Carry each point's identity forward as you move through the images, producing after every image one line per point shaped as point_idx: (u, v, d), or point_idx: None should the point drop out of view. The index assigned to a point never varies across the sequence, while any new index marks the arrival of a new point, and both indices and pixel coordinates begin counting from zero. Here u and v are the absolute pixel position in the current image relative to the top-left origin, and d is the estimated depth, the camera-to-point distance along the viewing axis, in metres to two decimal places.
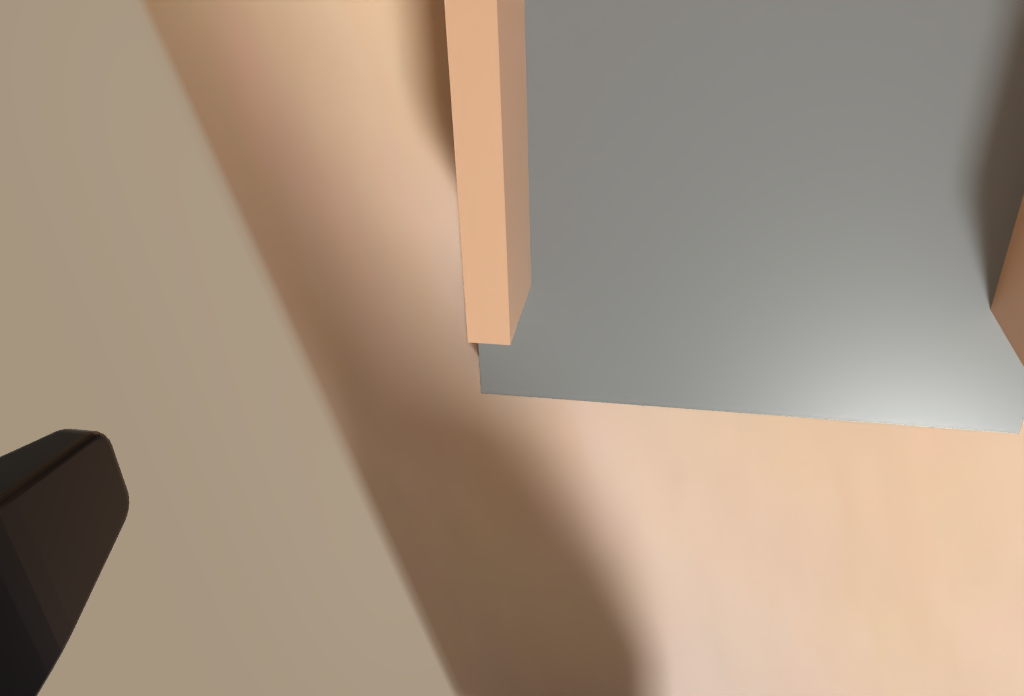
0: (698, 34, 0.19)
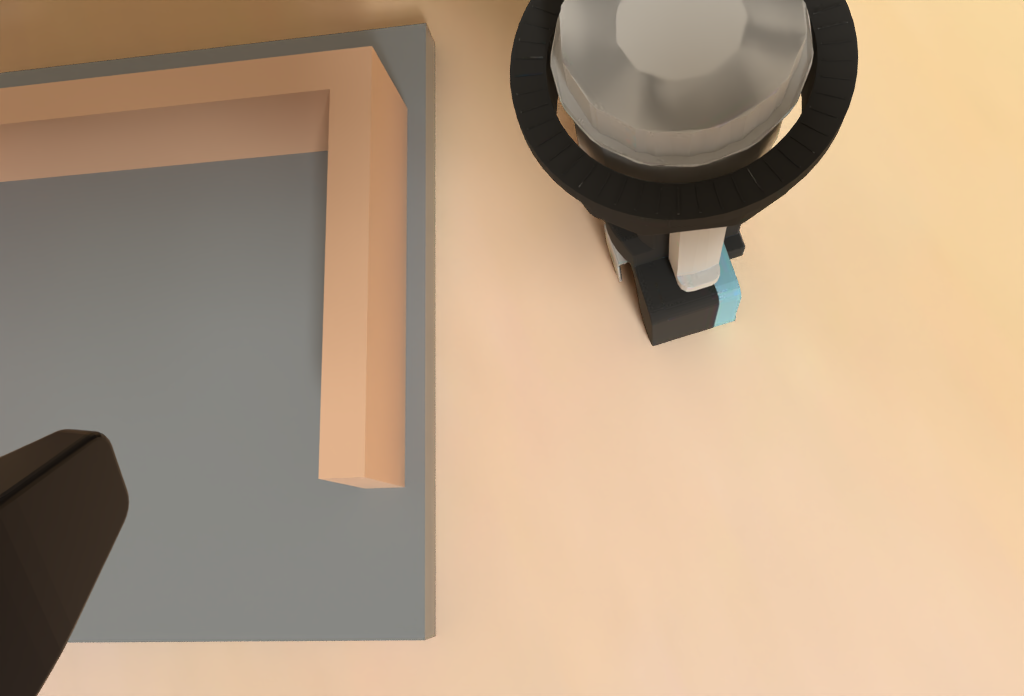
0: (111, 265, 0.24)
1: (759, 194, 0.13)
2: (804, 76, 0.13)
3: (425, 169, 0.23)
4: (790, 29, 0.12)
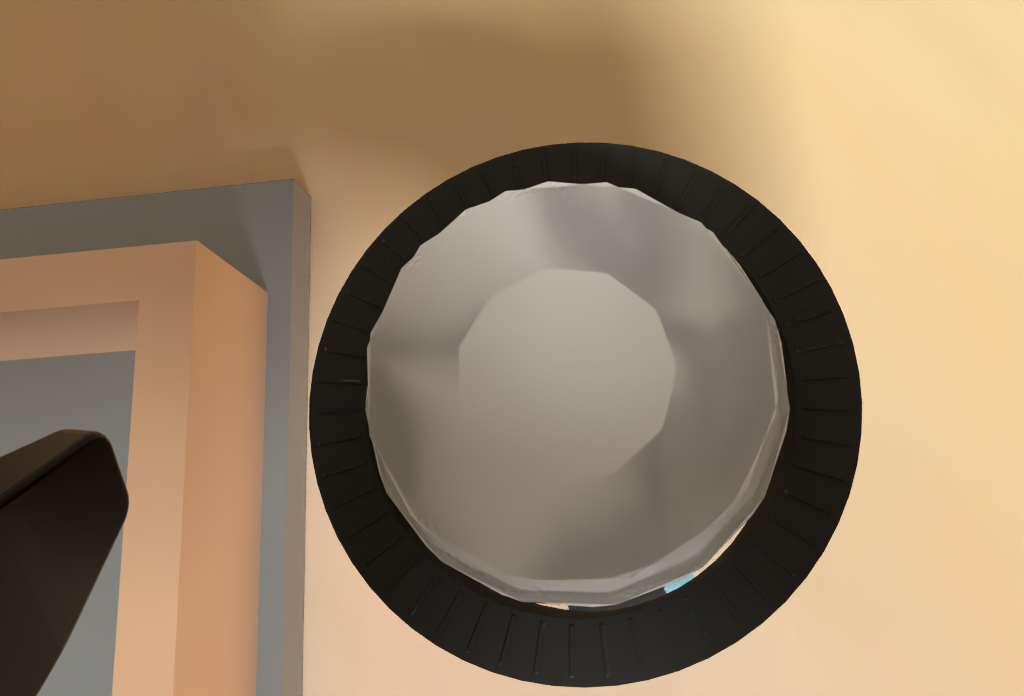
0: None
1: (706, 648, 0.08)
2: (775, 449, 0.08)
3: (289, 376, 0.17)
4: (749, 396, 0.07)
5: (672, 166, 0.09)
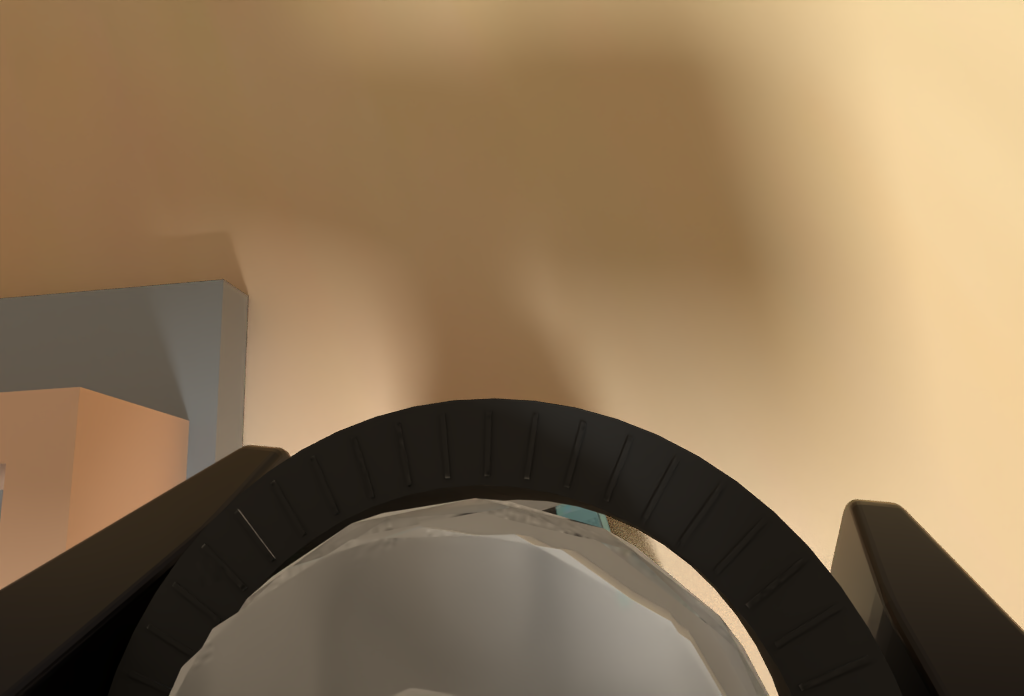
0: None
1: None
2: None
3: None
4: None
5: (638, 445, 0.06)
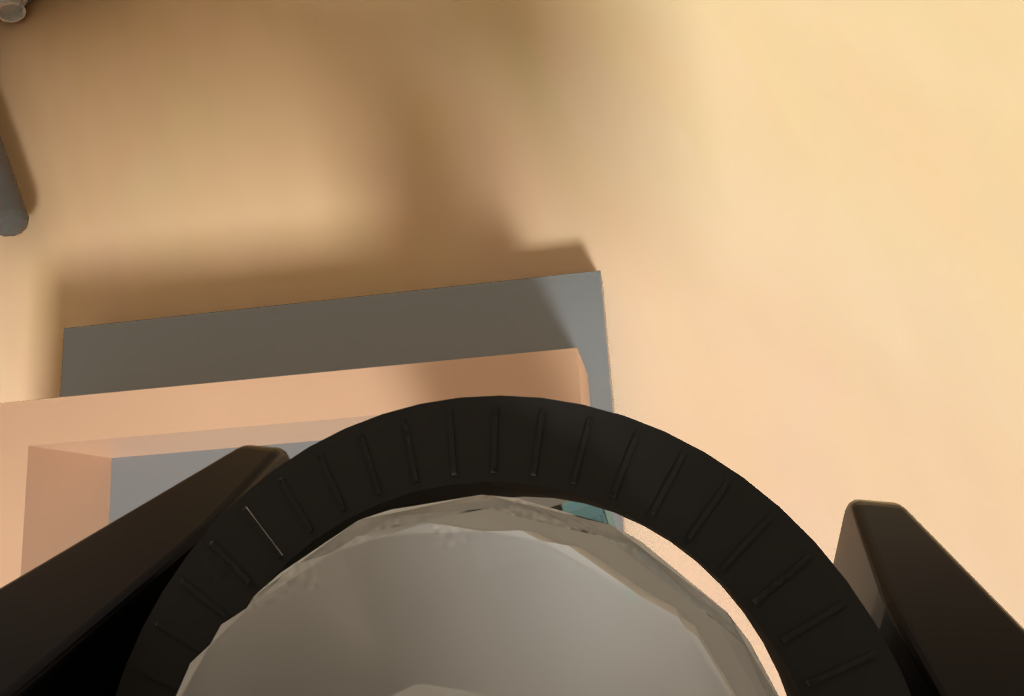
0: None
1: None
2: None
3: None
4: None
5: (645, 442, 0.06)
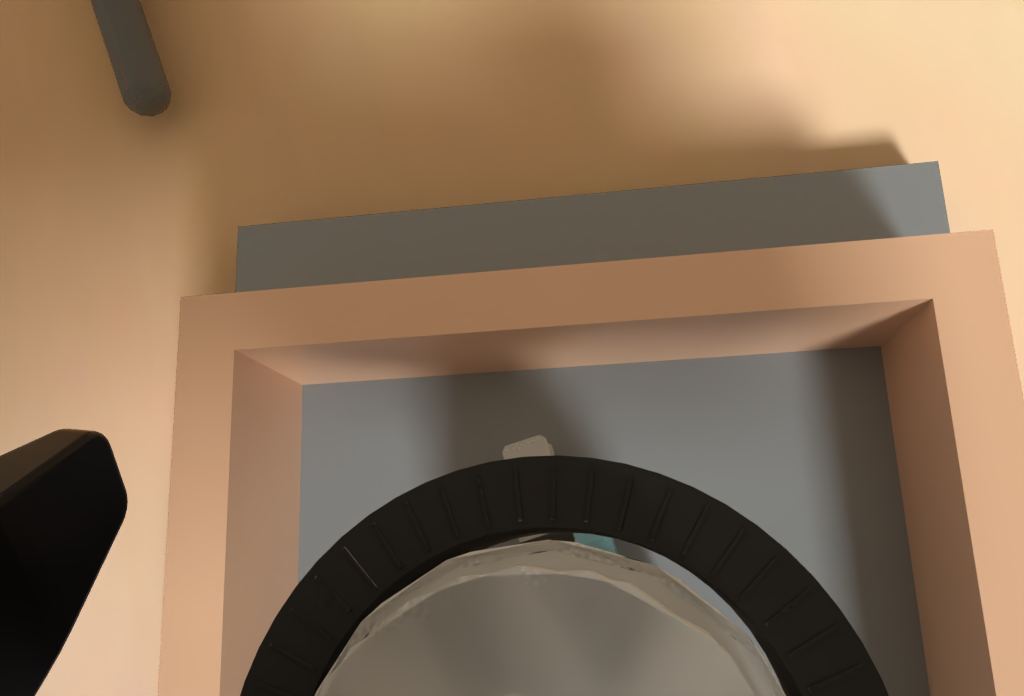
0: None
1: None
2: None
3: None
4: None
5: (677, 495, 0.07)
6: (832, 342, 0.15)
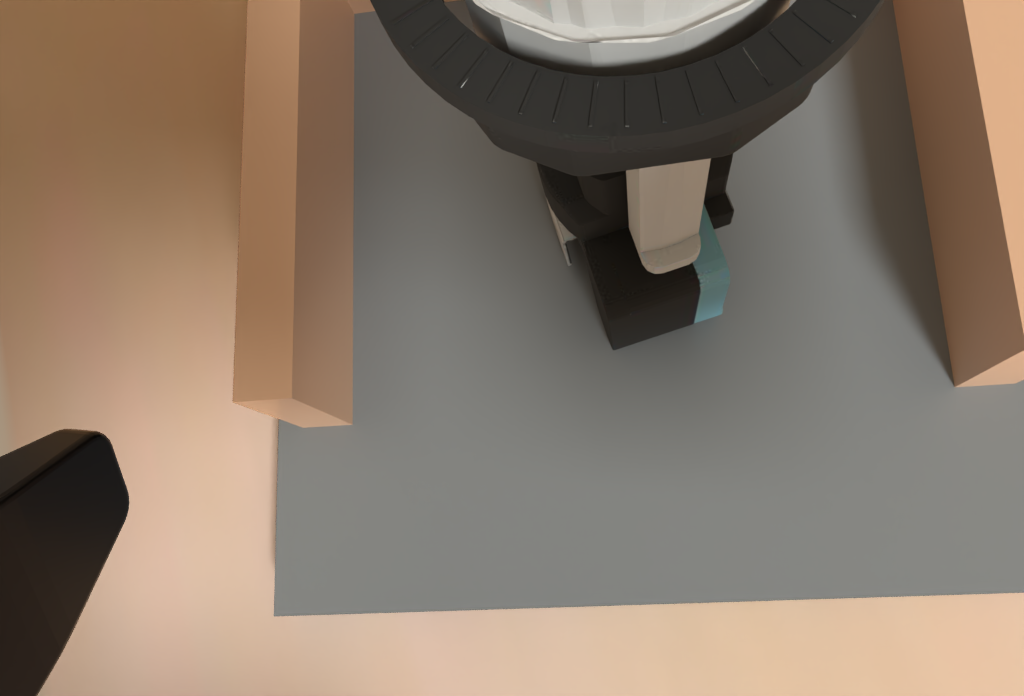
0: None
1: (763, 90, 0.08)
2: None
3: None
4: None
5: None
6: None
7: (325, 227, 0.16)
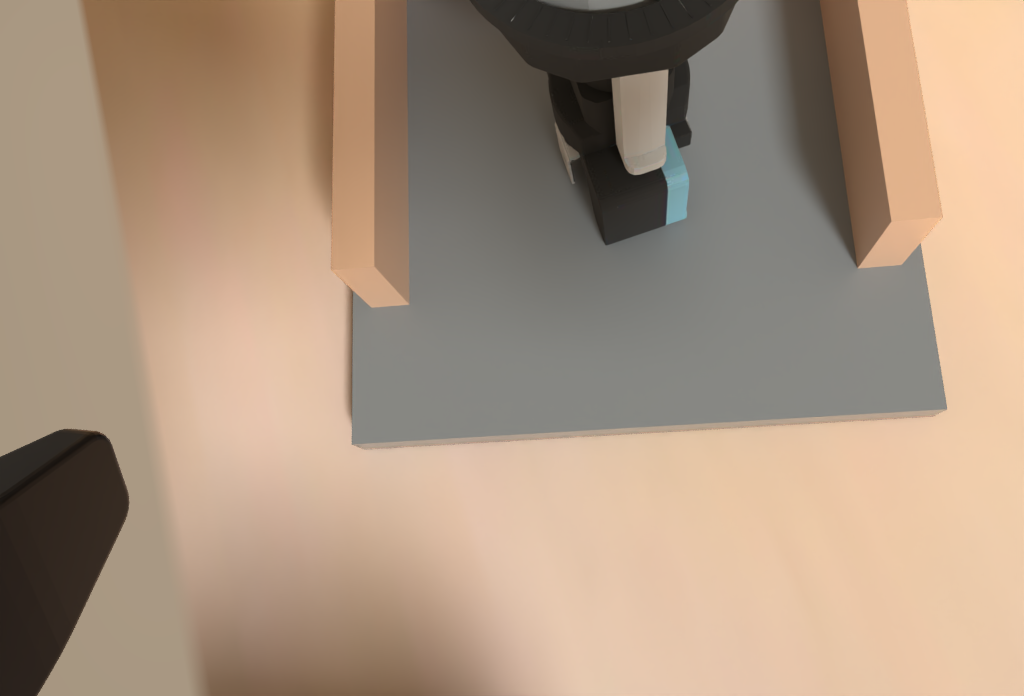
0: None
1: (688, 20, 0.13)
2: None
3: None
4: None
5: None
6: None
7: (391, 153, 0.22)
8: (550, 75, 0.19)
